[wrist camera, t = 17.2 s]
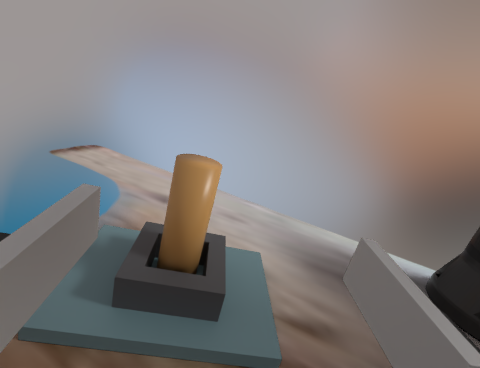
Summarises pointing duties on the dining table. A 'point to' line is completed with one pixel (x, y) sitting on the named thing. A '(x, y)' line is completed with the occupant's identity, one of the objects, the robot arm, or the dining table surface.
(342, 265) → the dining table surface
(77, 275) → the dock
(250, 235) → the dining table surface
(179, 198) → the cylinder
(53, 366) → the dining table surface
